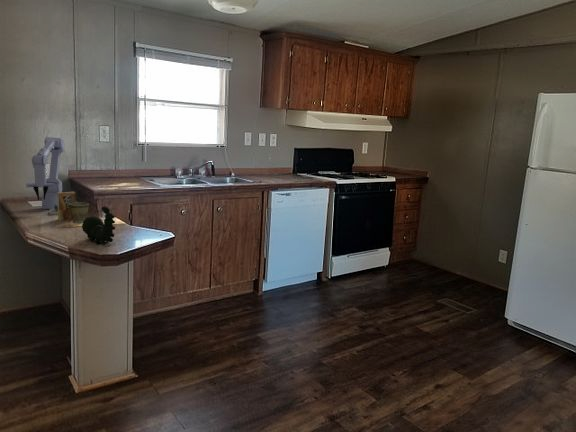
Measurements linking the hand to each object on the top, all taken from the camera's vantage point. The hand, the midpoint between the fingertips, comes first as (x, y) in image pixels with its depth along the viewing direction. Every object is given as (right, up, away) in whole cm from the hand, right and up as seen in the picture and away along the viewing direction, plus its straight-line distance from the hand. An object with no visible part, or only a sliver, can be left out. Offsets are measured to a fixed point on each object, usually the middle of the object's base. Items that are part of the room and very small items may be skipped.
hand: (41, 199), depth 270 cm
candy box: (+20, -12, -10) cm, 25 cm away
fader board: (+12, -8, +8) cm, 16 cm away
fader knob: (+7, -6, +5) cm, 11 cm away
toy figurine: (+54, -22, -52) cm, 78 cm away
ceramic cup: (+29, -13, -13) cm, 34 cm away
